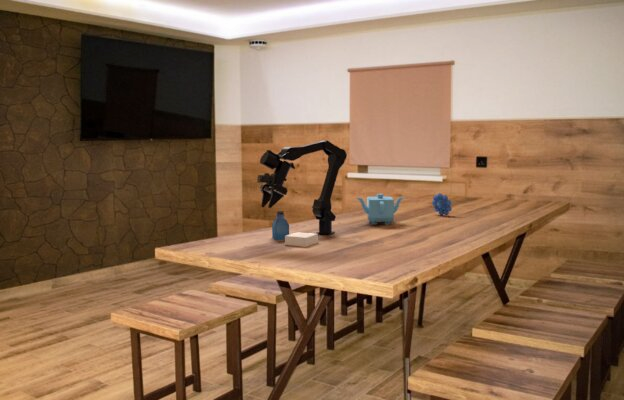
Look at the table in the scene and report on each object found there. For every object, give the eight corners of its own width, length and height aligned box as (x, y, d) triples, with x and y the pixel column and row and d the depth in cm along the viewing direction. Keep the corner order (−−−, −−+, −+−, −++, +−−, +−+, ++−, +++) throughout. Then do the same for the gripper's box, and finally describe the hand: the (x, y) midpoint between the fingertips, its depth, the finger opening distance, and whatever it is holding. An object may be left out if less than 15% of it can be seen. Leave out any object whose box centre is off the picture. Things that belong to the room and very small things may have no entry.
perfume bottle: (275, 240, 256) (274, 212, 255) (272, 237, 262) (271, 210, 261) (289, 239, 258) (288, 211, 256) (286, 236, 264) (285, 210, 262)
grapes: (428, 215, 324) (428, 193, 323) (433, 213, 329) (434, 192, 328) (448, 217, 317) (448, 194, 315) (453, 215, 322) (453, 193, 321)
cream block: (297, 241, 255) (297, 232, 254) (317, 243, 250) (317, 233, 250) (285, 245, 246) (285, 235, 246) (306, 247, 241) (306, 237, 241)
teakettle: (382, 227, 287) (383, 196, 285) (353, 223, 300) (353, 194, 298) (406, 222, 300) (407, 193, 298) (377, 219, 313) (377, 191, 311)
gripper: (257, 166, 261) (242, 199, 259) (271, 165, 244) (255, 200, 242) (278, 177, 265) (264, 209, 263) (294, 177, 248) (279, 211, 246)
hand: (265, 207), depth 253 cm, fingers open, 9 cm apart
